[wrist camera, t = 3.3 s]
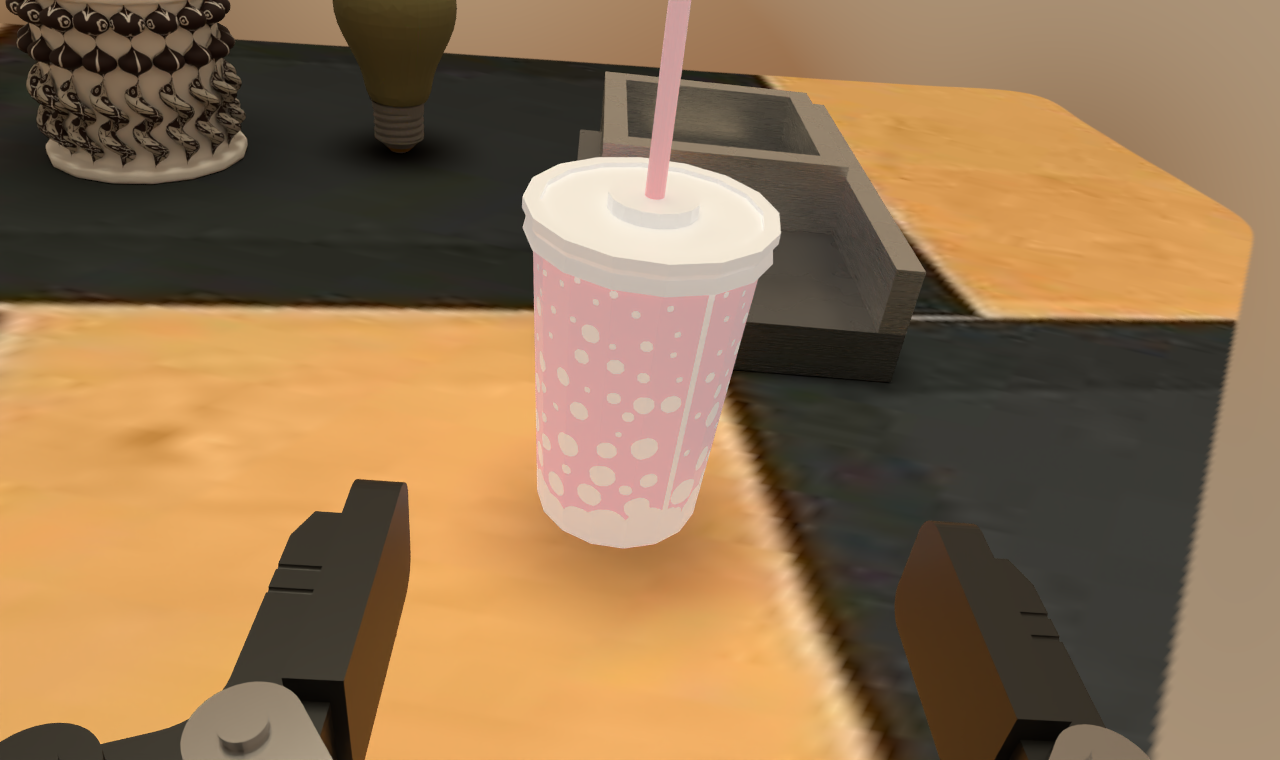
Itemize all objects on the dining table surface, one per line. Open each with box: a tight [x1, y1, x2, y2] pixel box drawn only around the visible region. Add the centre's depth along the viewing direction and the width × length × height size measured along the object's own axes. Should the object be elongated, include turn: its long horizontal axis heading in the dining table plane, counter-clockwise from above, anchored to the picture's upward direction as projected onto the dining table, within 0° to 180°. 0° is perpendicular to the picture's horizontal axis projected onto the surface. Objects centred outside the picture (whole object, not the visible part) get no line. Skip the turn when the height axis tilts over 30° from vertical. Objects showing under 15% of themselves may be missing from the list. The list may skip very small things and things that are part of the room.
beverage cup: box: [522, 0, 781, 548], centre depth 22 cm, size 6×6×14 cm
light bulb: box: [333, 0, 457, 153], centre depth 43 cm, size 6×6×10 cm
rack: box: [578, 72, 926, 382], centre depth 38 cm, size 12×18×5 cm, turn 1°
